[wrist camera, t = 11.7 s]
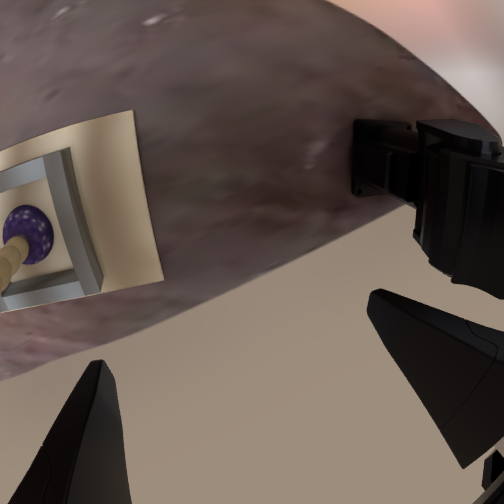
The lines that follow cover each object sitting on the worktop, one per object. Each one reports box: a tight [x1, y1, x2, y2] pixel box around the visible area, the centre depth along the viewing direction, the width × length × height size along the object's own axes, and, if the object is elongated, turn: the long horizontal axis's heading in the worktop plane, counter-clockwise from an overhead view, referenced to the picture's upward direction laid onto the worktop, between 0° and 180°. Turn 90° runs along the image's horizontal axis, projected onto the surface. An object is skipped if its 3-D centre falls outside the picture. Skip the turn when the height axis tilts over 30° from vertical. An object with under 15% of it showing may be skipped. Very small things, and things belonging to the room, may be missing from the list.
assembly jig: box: [0, 110, 164, 313], centre depth 15 cm, size 18×12×3 cm, turn 94°
